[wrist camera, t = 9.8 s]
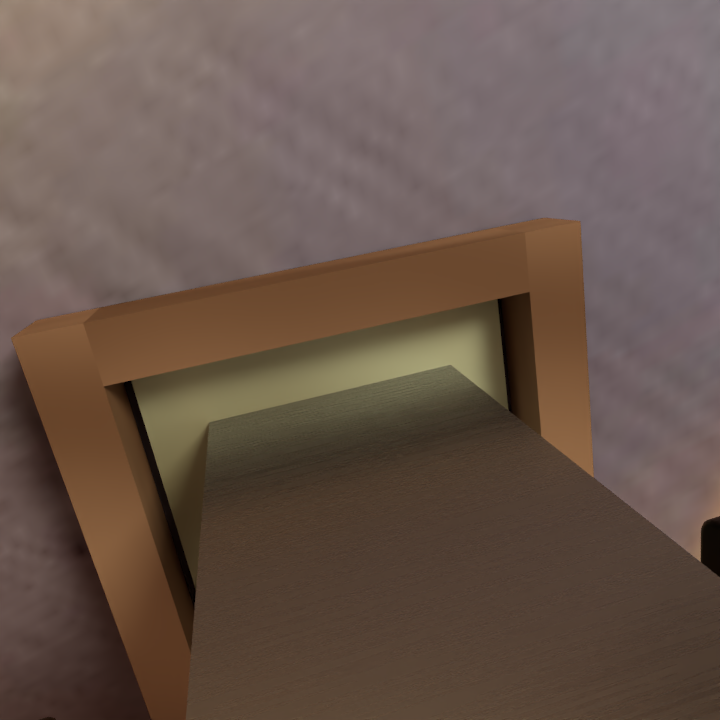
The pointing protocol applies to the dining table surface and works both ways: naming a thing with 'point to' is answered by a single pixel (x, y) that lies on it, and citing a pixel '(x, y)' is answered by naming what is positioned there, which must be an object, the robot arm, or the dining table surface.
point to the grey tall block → (434, 572)
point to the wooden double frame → (285, 390)
